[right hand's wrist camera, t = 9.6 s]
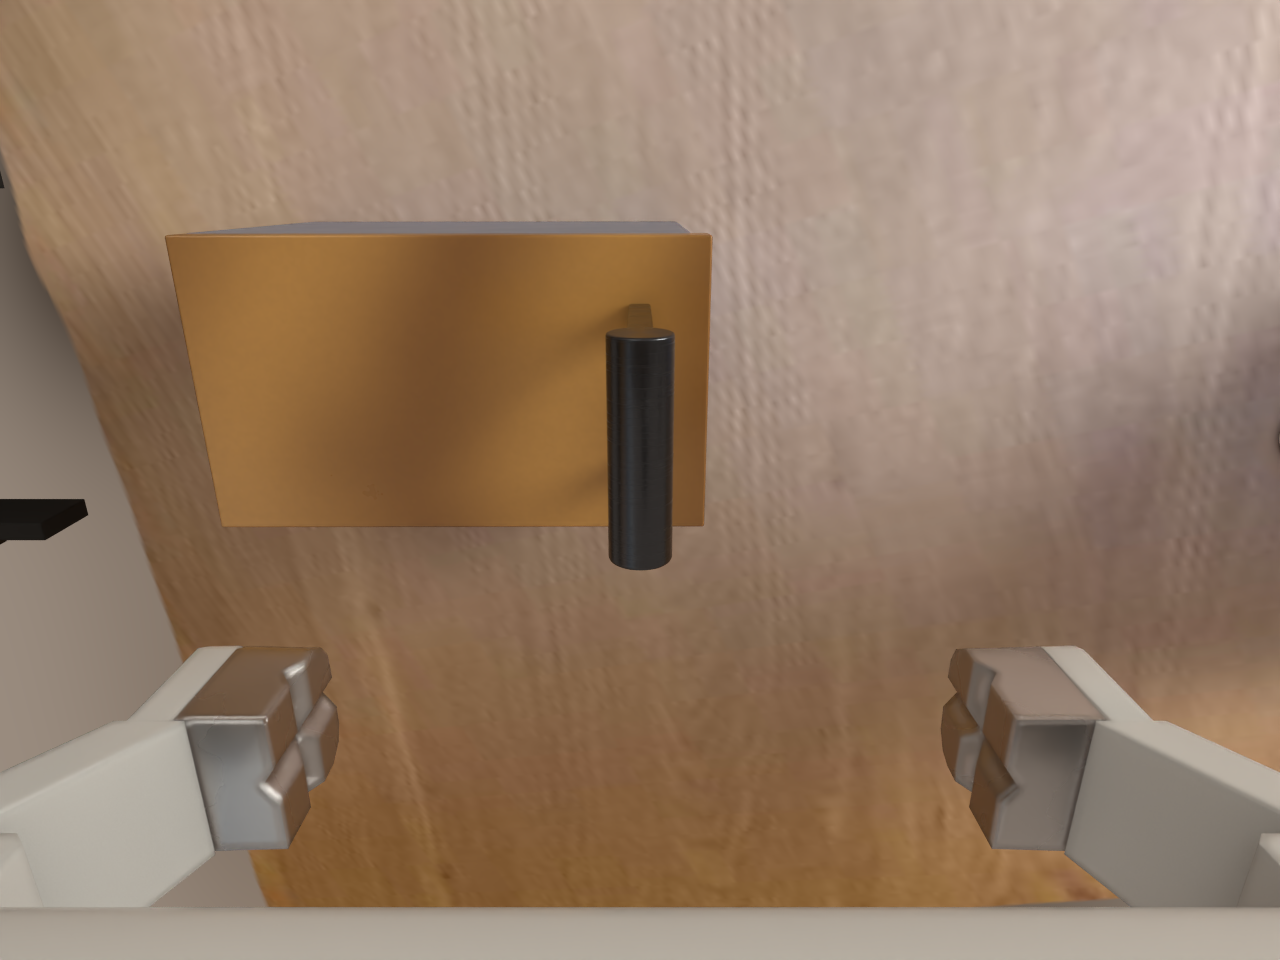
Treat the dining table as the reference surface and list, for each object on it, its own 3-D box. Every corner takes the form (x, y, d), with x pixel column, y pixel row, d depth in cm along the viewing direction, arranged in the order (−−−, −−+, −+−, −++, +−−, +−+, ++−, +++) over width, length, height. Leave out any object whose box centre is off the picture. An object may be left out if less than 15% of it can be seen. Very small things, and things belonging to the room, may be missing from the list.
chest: (676, 221, 35) (691, 233, 25) (673, 430, 39) (686, 513, 29) (313, 221, 35) (184, 233, 25) (341, 431, 39) (237, 514, 29)
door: (709, 233, 25) (742, 251, 17) (701, 514, 29) (725, 637, 21) (183, 233, 25) (-23, 252, 17) (236, 515, 29) (83, 638, 21)
